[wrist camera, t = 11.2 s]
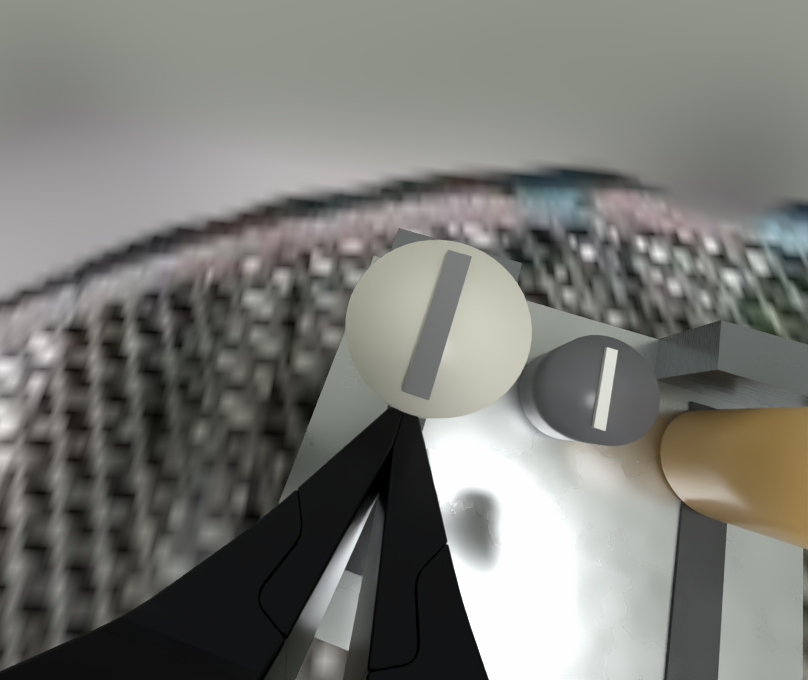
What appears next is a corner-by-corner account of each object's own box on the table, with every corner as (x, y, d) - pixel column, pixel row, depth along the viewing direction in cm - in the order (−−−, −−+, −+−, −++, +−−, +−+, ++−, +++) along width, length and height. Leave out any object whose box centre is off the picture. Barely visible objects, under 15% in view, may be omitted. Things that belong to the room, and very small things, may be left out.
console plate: (761, 790, 12) (954, 990, 8) (252, 590, 13) (186, 666, 9) (773, 384, 15) (906, 372, 11) (376, 266, 17) (367, 219, 13)
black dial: (599, 452, 14) (656, 462, 10) (509, 423, 14) (540, 425, 11) (612, 366, 14) (668, 352, 11) (528, 340, 15) (561, 320, 12)
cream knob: (455, 431, 13) (511, 446, 6) (359, 400, 14) (314, 381, 7) (480, 338, 14) (552, 263, 7) (391, 311, 15) (380, 215, 8)
